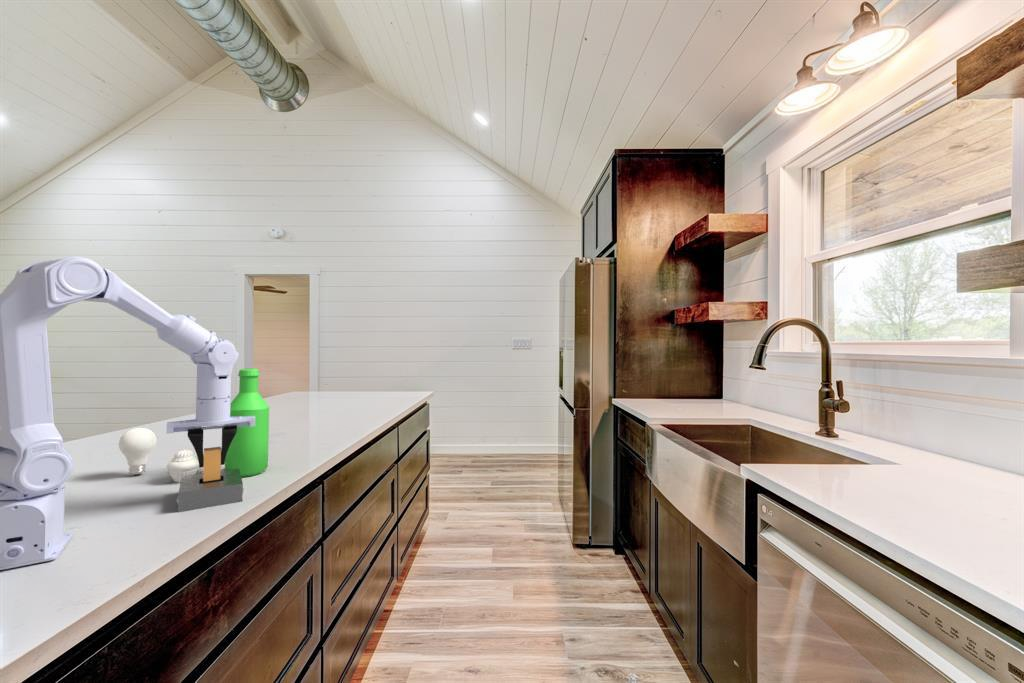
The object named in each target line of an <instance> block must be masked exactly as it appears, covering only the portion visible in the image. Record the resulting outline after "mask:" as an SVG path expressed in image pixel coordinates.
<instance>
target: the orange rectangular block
mask: <svg viewBox="0 0 1024 683" xmlns="http://www.w3.org/2000/svg"><path fill="white" fill-rule="evenodd" d="M221 448H222V446H215V447H214V446H213V447H205V448H204V447H203V455H204V466H203V467H202V468H203V470H202V472H203V482H204V481H211V480H218V479H220V471H222V470H221V467H222V465H221Z"/></svg>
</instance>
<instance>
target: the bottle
mask: <svg viewBox="0 0 1024 683" xmlns="http://www.w3.org/2000/svg"><path fill="white" fill-rule="evenodd" d="M259 371H260V370H259V369H258V368H241V369H239V371H238V375H237V376H238V377H239V382H238V383H239V385H238V386H239V387H238V394H237V395H236V396H235V397H234V398H233V399H232V401H230V417H240V416H255V426H251V427H249V426H244V427H237V433H236V435H235V436H234V438H233V440H232V442H231V444H230V446H229V449H228V452H227V455H226V458H225V464H224V470H232V469H240V474H241V478H245V477H251V476H256V475H259V474H261V473H264V471H265V470H267V468H268V466H269V463H268V462H269V439H270V438H269V435H270V433H269V432H270V405H269V404H268V403H267V402H266V400H265V399H264V398H263V397H262V395H261V394H260V393H259V376H260V372H259Z"/></svg>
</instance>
